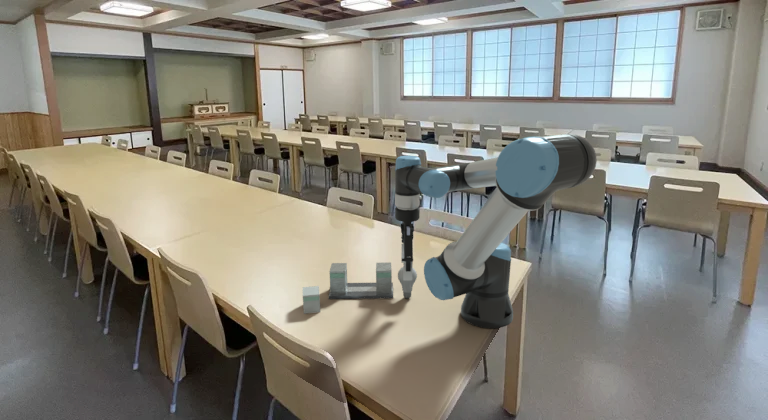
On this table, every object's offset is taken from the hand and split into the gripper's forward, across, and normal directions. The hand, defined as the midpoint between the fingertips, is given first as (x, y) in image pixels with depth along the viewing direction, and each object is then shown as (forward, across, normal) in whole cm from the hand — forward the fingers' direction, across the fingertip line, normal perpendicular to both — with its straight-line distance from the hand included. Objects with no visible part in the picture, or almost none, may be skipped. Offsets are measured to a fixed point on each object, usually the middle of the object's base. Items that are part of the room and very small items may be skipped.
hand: (406, 270), depth 142 cm
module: (+10, -6, +30) cm, 32 cm away
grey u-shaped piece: (+10, +4, +15) cm, 18 cm away
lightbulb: (+10, 0, 0) cm, 10 cm away
